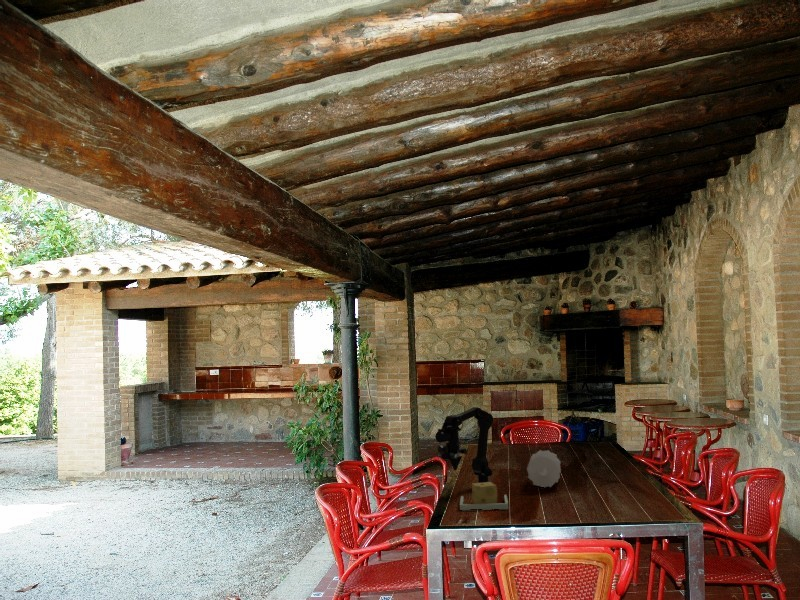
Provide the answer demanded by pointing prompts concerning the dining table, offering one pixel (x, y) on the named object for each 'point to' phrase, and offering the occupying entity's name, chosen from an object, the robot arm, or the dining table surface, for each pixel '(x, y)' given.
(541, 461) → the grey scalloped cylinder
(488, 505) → the grey u-shaped frame
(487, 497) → the cheese
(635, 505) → the dining table surface
